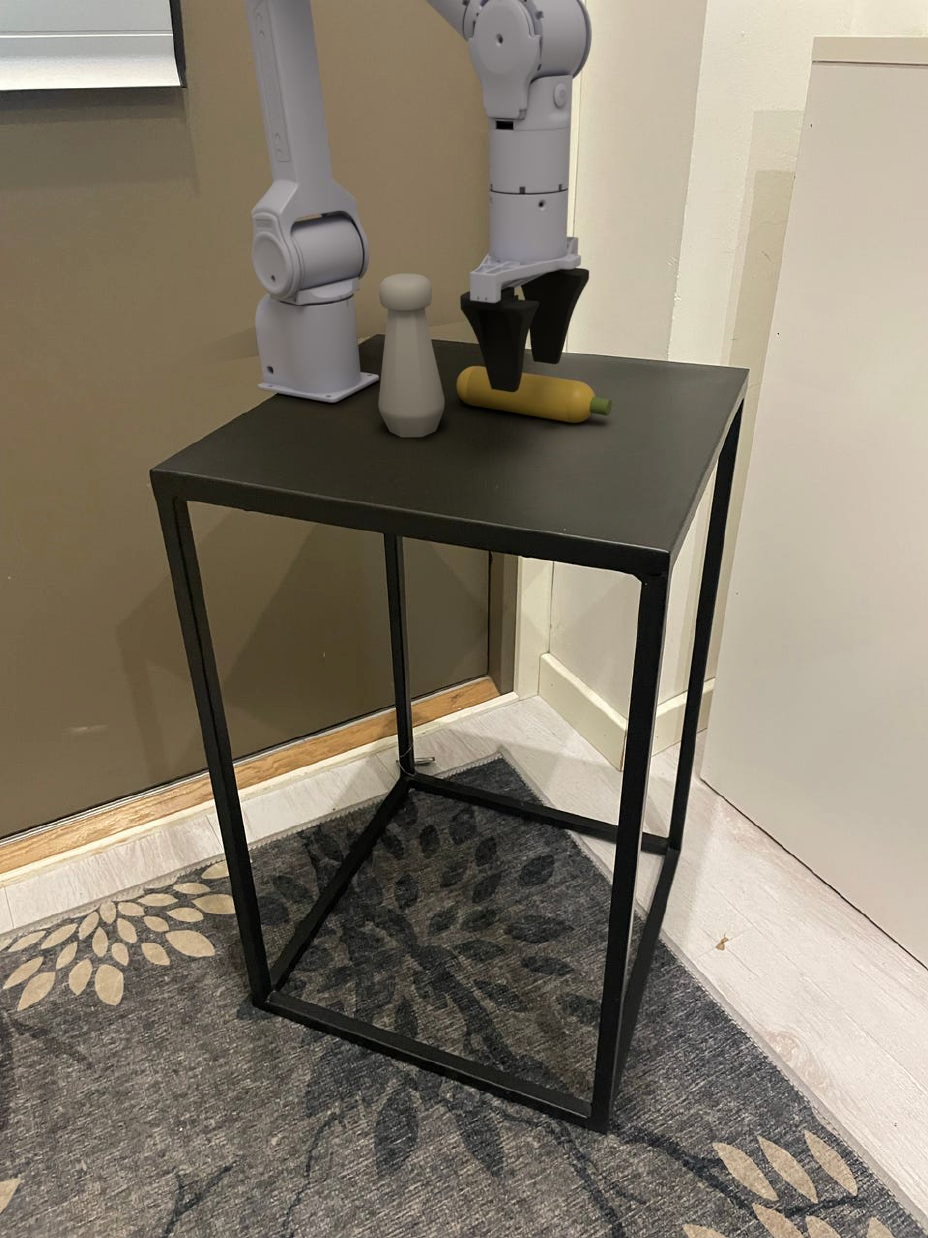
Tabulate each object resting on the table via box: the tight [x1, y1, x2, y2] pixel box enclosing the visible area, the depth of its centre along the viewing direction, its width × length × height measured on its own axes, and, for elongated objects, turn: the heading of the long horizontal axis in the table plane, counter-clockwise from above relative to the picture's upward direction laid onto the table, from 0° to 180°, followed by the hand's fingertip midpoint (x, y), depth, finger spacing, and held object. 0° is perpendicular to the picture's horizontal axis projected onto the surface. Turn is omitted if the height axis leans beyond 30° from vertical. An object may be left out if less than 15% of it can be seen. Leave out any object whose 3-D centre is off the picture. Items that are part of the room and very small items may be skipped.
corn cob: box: [455, 365, 613, 424], centre depth 83 cm, size 15×4×4 cm, turn 61°
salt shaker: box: [377, 272, 446, 438], centre depth 78 cm, size 6×6×13 cm
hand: (526, 375), depth 73 cm, fingers open, 7 cm apart
